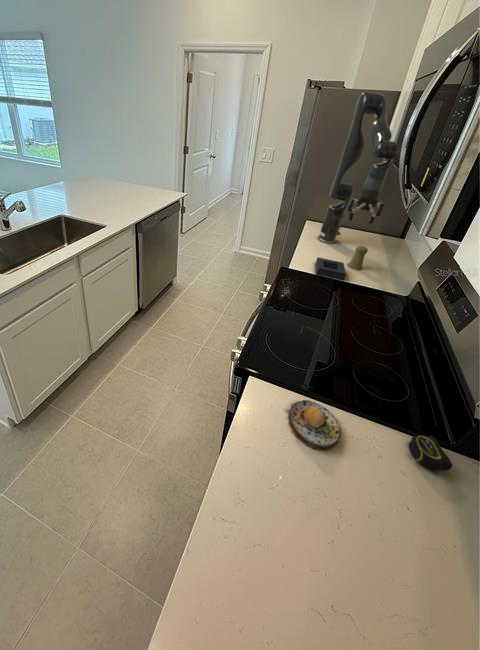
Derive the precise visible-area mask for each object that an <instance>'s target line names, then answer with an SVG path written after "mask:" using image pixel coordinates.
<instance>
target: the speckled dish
mask: <svg viewBox="0 0 480 650" xmlns="http://www.w3.org/2000/svg"><path fill="white" fill-rule="evenodd" d="M287 418H288V426H289V428H290V430H291V431H292V434H293V435H294V436H295V437H296V438H297V439H298V440H299V441H300V442H302V443H303V444H304V445H306V446H307V447H309V448H312V449H315V450H319V451H328V450H332V449H333V448H335V447H336V446H337V444H338V443H339V441H340V439H341V436H342V430H341V426H340V423H339V420H337V418H336V417H335V415H334V414H333V413H332V412H331V411H330V410H329V409H328V408H327V407H324V406H323V405H322V404H321V405H320V404H319V403H317V402H315V401H311V400H308V399H307V400H306V399H302V400H301V401H297V402H294V403H293V404H292V405H291V406H290V408H289V411H288V413H287Z"/></svg>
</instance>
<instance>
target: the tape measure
mask: <svg viewBox="0 0 480 650" xmlns="http://www.w3.org/2000/svg"><path fill="white" fill-rule="evenodd" d="M408 450H409V452H410V455H411V456H412V457H413V458H414V460H415V461H416V462H417V463H418V464H419V465H421V466H422V467H423V468H426V469H427V470H430V471H440V470H441V471H450V470H451V469H452V468H453V463H452V461H451V459H450V458H449V457H448V455H447V454H446V453H445V451H444V450H443V449H442V447H441V445H440V443H439V442H438V440H437V439H436V438H435V437H434V435H427V436H426V435H424V434H419V435H413V436H412V437H411V440H410V441H409V442H408Z"/></svg>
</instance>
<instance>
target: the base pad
mask: <svg viewBox="0 0 480 650" xmlns="http://www.w3.org/2000/svg"><path fill="white" fill-rule="evenodd" d="M315 275H318V276H322V277H327V278H331V279H334V280H339V281H344V280H345V278H346V276H347V272H346V268H345V263H344V262H342V261H337V260H333V259H329V258H323V257H316V261H315Z"/></svg>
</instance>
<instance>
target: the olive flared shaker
mask: <svg viewBox="0 0 480 650" xmlns="http://www.w3.org/2000/svg"><path fill="white" fill-rule="evenodd" d="M367 253H368V248H367V247H366V246H364V245H357V246H356V247H355V253H354V254H353V256H352V258H351V260H350V261H349V262H348V265H347V266H348V267H349V268H350V269H353V270H357V271H359V270H362V268H363V264H364V259H365V256H366V255H367Z"/></svg>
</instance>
